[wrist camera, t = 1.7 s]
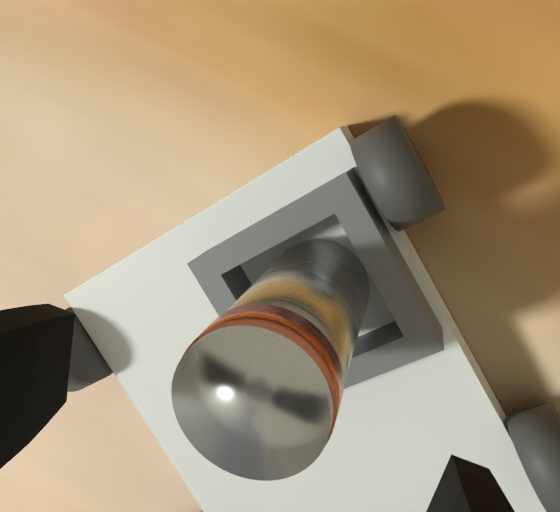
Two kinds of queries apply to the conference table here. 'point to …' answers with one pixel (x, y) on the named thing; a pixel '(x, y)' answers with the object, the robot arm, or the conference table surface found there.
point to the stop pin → (275, 365)
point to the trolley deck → (367, 353)
